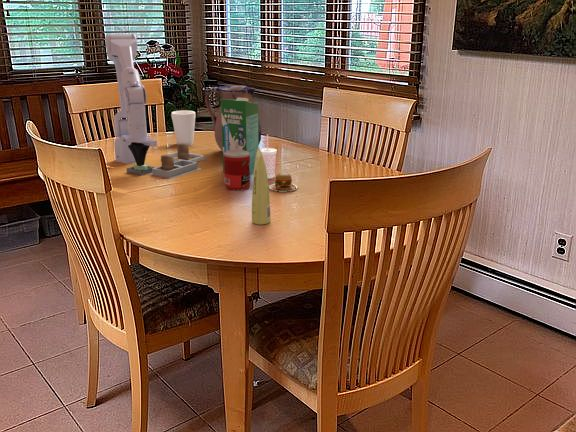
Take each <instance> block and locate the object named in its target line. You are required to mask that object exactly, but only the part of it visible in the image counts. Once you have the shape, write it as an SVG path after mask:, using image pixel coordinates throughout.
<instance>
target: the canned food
mask: <svg viewBox="0 0 576 432" xmlns="http://www.w3.org/2000/svg"><path fill="white" fill-rule="evenodd" d="M223 171H224V186H225V188H226V189H227V190H231V191H244V190H248V189H249V188H250V186H251V174H250V153H249V152H248V151H244V150H229V151H226V152H224V170H223Z"/></svg>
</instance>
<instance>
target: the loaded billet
mask: <svg viewBox="0 0 576 432" xmlns="http://www.w3.org/2000/svg"><path fill="white" fill-rule="evenodd" d="M174 158H175V157H174V156H173V155H171V153H168V154H166V153H165V154H161V155H160V161H161V163H160V164H161V166H162V170H166V171H169V170H173V169H174Z"/></svg>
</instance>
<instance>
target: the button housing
mask: <svg viewBox="0 0 576 432" xmlns="http://www.w3.org/2000/svg"><path fill="white" fill-rule="evenodd" d="M147 166H148V168H147V169H144V170H141V171H140V170H136V169H134V165H133V166H131V167H127V168H126V173H127V174H131V175H136V176H144V175H147V174H148V175H149V174H150V173H152V168H155V167H156V166H151V165H147Z"/></svg>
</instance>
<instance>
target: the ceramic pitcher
mask: <svg viewBox="0 0 576 432" xmlns="http://www.w3.org/2000/svg"><path fill="white" fill-rule="evenodd" d="M255 91H256V89H255V88H254V87H251V86H250V87H249V86H247V85H226V86H212V87H210V88H209V89H207V91H206V92H205V93H204V94H205V95H204V103H205V106H206V108H207V111H208V114H209V116H210V118H211V120H212V123H213V127H212V129H213V132H214V140H215V142H216V145H217V146H218V148H219V149H220V150H221V151H222V152H223V148H222V117H221V105H220V106H219V109H218V113H217V115H216V114H215V111H214V109H213V107H212V105H211V101H210V100H211V99H210V95H211V94H212V93H217V94H219V96H220V98H221V99H230V100H237V98H247V99H248V102H252V103H255V98H254V97H255ZM258 130H259V145H260V143H261V140H262V128H261V123H260V119H259V117H258Z"/></svg>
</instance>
